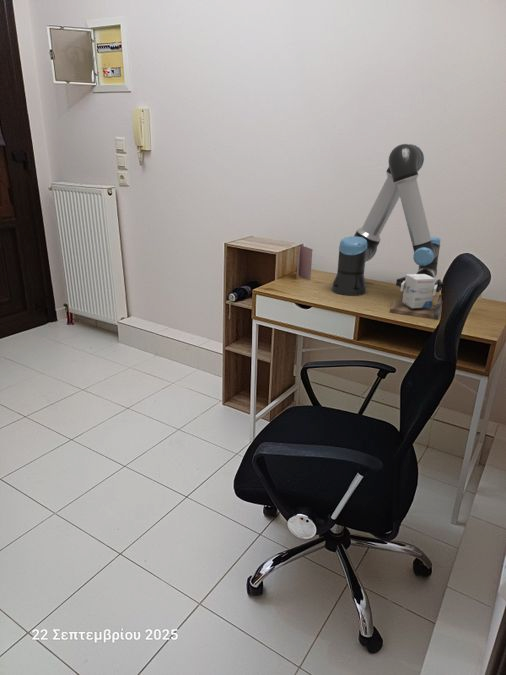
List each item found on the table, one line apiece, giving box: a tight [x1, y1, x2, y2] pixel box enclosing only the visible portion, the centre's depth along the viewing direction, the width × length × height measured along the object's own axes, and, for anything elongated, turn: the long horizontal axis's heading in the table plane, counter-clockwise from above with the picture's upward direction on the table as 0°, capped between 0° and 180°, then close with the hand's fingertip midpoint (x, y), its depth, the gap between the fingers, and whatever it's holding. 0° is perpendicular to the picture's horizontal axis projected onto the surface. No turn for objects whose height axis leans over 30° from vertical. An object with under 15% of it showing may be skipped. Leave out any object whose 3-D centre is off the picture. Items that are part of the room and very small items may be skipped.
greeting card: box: [295, 244, 313, 281], centre depth 236 cm, size 11×7×15 cm, turn 169°
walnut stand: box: [389, 294, 442, 320], centre depth 191 cm, size 18×14×6 cm
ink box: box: [401, 273, 437, 308], centre depth 190 cm, size 9×8×12 cm
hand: (417, 289), depth 186 cm, fingers closed on ink box, 11 cm apart
